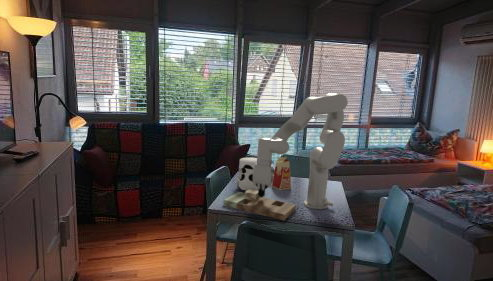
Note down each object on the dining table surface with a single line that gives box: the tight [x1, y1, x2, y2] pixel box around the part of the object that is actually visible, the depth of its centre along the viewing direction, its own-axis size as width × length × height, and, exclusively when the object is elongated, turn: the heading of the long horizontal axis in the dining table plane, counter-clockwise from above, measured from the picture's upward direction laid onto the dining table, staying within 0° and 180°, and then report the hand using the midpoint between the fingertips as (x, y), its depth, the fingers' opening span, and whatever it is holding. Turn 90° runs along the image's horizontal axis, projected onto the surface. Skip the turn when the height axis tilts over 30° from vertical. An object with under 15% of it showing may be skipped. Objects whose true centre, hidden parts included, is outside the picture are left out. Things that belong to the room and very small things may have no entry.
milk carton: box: [271, 156, 292, 191], centre depth 205 cm, size 9×9×20 cm
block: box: [244, 189, 260, 201], centre depth 174 cm, size 6×6×4 cm
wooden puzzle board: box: [223, 191, 297, 221], centre depth 169 cm, size 33×16×3 cm, turn 63°
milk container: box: [236, 157, 263, 192], centre depth 197 cm, size 17×17×18 cm
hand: (261, 196), depth 173 cm, fingers closed
